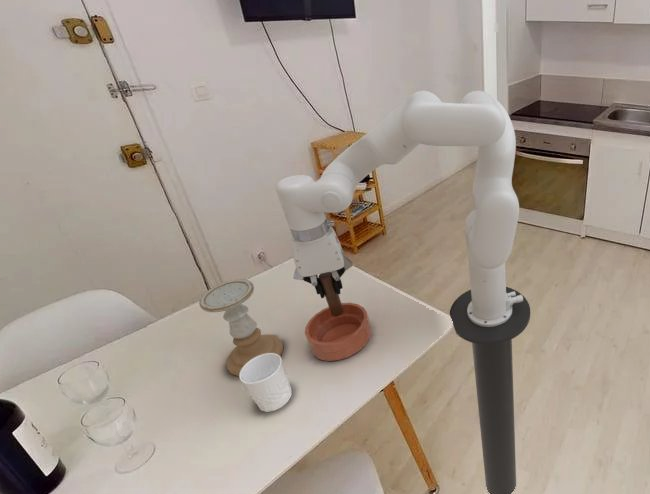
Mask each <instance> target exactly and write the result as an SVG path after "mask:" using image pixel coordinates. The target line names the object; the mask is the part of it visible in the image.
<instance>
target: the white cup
mask: <svg viewBox="0 0 650 494" xmlns="http://www.w3.org/2000/svg"><path fill="white" fill-rule="evenodd" d="M238 377H239V380H240V382H241V383H242V385H243V386H244V388H245V390H246V391H247V393H248V394H249V396H250V398H251V399H252V401H253V402H254V403H255V404H256V405H257V407H258V409H259V410H260V411H262V412H265V413H268V412H269V413H270V412H274V411H277V410H279V409H281V408H283V407H284V406H285V405H287V403H288V402H289V400H290V399H291V397H292V392H293V391H292V390H293V388H292V387H291V384H290V380H289V376H288V372H287V370H286V367H285V365H284V362H283V359H282V357H281V356H279V355H278V354H275V353H266V354H262V355H259V356H257V357H255V358H253V359H251V360H250V361H249V362H247V363H246V364H245V365H244V366H243V368H242V369H241V371H240V374H239V376H238Z"/></svg>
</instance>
